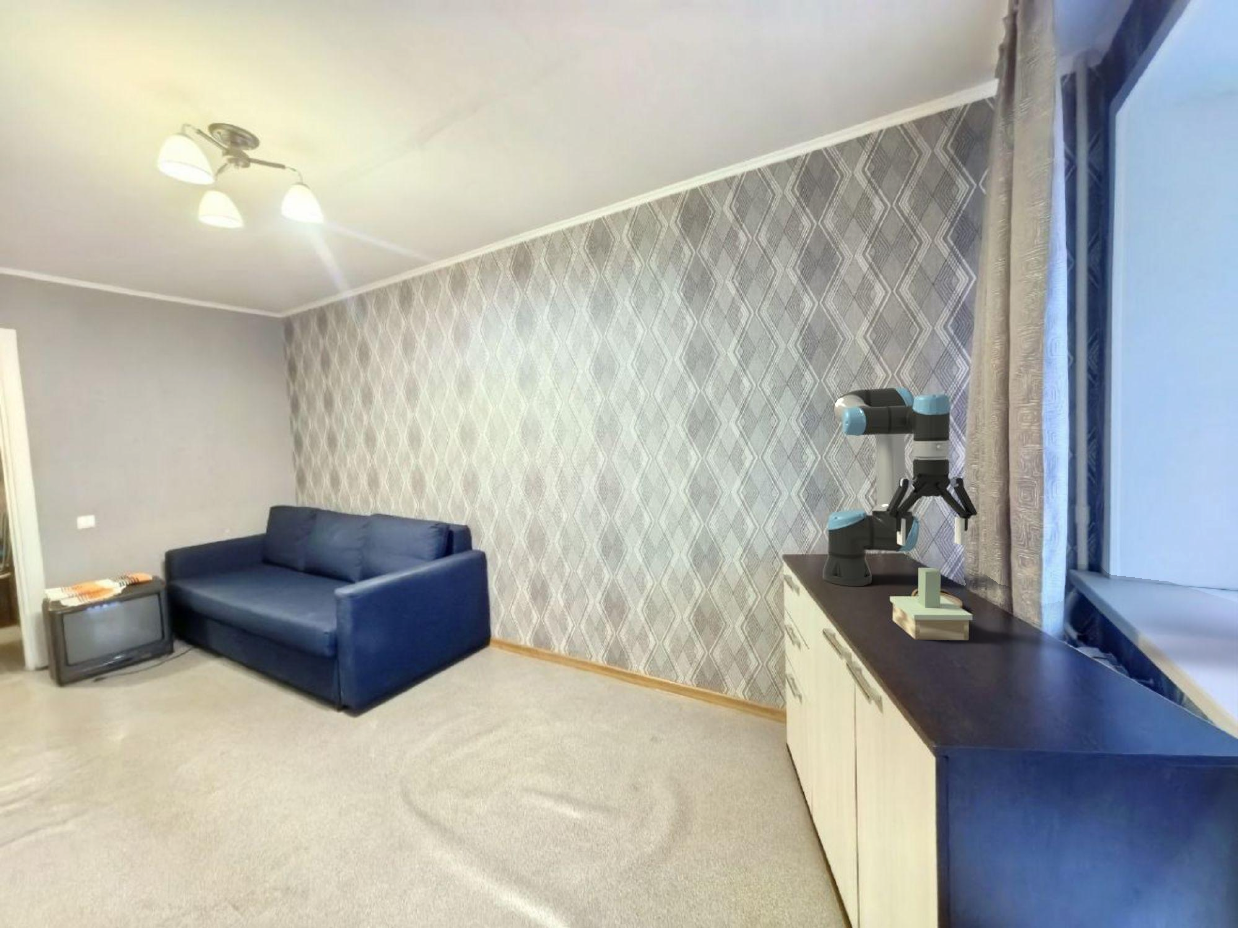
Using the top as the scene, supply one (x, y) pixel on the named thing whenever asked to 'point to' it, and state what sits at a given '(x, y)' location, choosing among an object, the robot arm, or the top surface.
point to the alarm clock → (946, 595)
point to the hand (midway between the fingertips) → (930, 544)
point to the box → (931, 627)
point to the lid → (929, 600)
